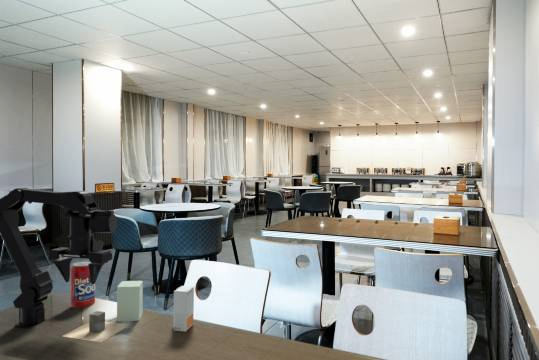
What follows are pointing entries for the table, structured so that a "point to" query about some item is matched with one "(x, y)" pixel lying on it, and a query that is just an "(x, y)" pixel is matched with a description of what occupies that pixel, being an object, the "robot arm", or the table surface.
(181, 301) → the skincare box
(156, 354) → the table surface
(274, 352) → the table surface
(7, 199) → the robot arm
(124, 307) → the pale green carton
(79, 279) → the soda can
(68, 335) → the birch base
